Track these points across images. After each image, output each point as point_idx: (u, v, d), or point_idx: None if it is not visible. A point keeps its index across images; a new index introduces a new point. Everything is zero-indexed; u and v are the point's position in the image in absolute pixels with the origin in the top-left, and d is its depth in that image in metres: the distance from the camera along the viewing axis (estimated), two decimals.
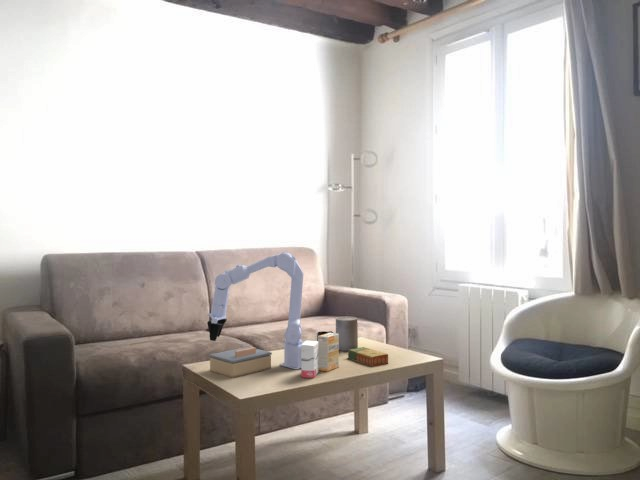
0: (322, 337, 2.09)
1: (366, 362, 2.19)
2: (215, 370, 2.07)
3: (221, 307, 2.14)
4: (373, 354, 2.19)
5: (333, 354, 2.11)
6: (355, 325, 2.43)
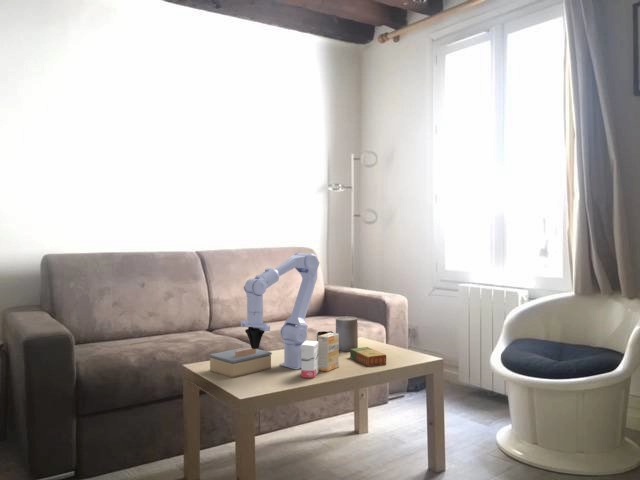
0: (322, 337, 2.09)
1: (363, 362, 2.19)
2: (215, 370, 2.07)
3: (262, 313, 2.04)
4: (371, 354, 2.19)
5: (333, 354, 2.11)
6: (355, 325, 2.43)
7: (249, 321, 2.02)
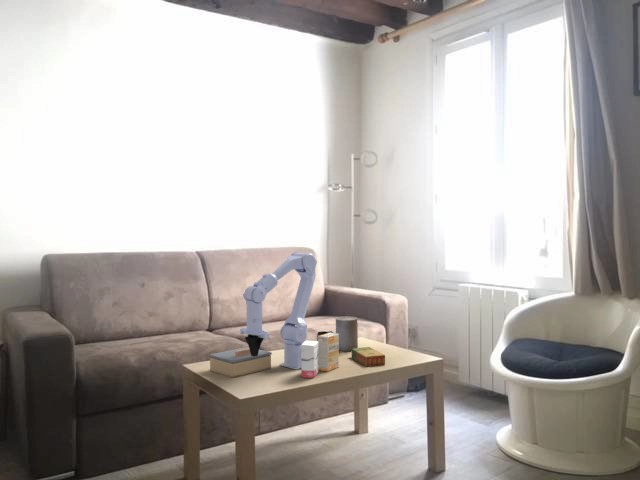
0: (322, 337, 2.09)
1: (362, 362, 2.20)
2: (215, 370, 2.07)
3: (261, 321, 2.04)
4: (369, 354, 2.19)
5: (333, 354, 2.11)
6: (355, 325, 2.43)
7: (248, 329, 2.03)
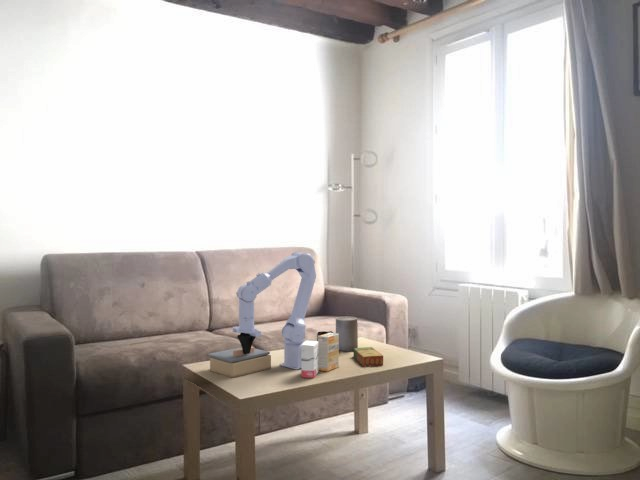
0: (322, 337, 2.09)
1: (361, 361, 2.20)
2: (215, 370, 2.07)
3: (253, 319, 2.07)
4: (368, 354, 2.19)
5: (333, 354, 2.11)
6: (355, 325, 2.43)
7: (241, 327, 2.06)
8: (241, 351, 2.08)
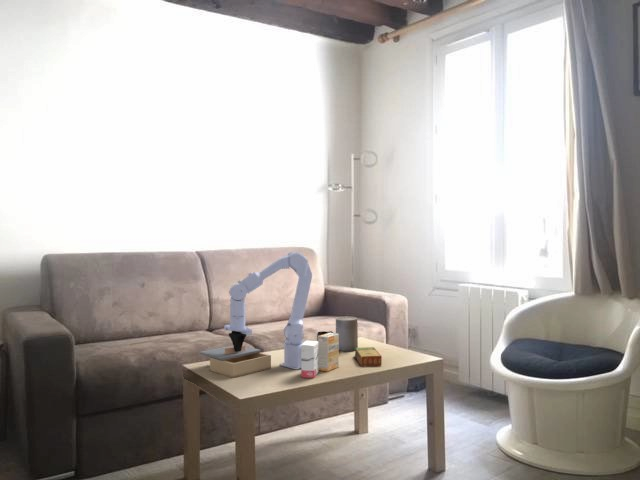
0: (322, 337, 2.09)
1: (359, 361, 2.20)
2: (215, 370, 2.07)
3: (244, 318, 2.11)
4: (366, 354, 2.19)
5: (333, 354, 2.11)
6: (355, 325, 2.43)
7: (232, 325, 2.10)
8: (232, 349, 2.12)
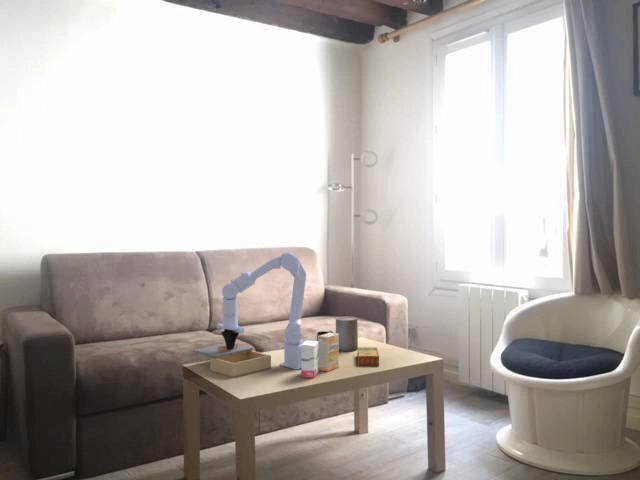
0: (322, 337, 2.09)
1: None
2: (215, 370, 2.07)
3: (236, 316, 2.14)
4: (364, 354, 2.19)
5: (333, 354, 2.11)
6: (355, 325, 2.43)
7: (224, 323, 2.13)
8: (225, 347, 2.15)
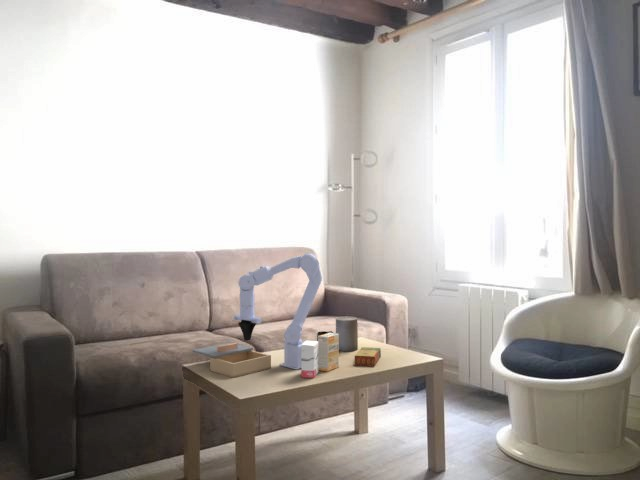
0: (322, 337, 2.09)
1: None
2: (215, 370, 2.07)
3: (253, 307, 2.16)
4: (361, 354, 2.20)
5: (333, 354, 2.11)
6: (355, 325, 2.43)
7: (242, 314, 2.15)
8: (225, 347, 2.15)
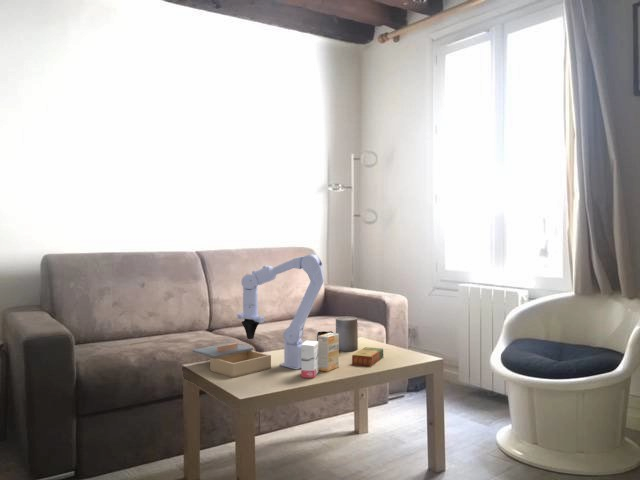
0: (322, 337, 2.09)
1: None
2: (215, 370, 2.07)
3: (256, 306, 2.18)
4: (359, 353, 2.20)
5: (333, 354, 2.11)
6: (355, 325, 2.43)
7: (245, 313, 2.17)
8: (225, 347, 2.15)
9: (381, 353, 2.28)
